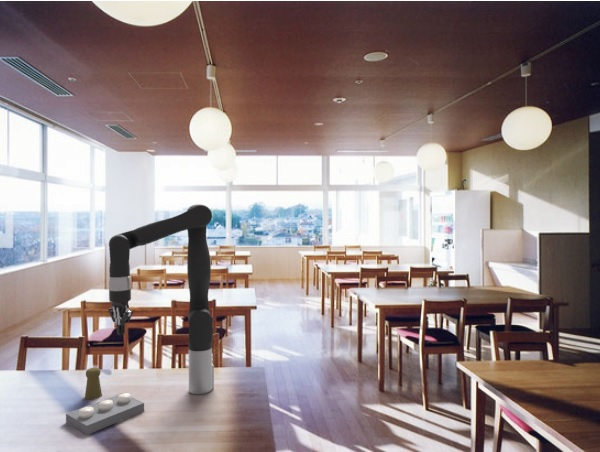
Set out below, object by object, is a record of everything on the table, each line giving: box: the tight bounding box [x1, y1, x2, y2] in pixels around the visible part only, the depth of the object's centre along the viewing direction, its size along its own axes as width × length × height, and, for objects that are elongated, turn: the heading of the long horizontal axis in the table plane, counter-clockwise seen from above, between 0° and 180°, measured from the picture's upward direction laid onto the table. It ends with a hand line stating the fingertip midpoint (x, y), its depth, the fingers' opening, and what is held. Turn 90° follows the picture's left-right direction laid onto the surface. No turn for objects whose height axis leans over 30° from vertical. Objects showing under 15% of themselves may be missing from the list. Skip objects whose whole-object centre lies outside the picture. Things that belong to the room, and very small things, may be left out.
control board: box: [65, 392, 145, 436], centre depth 152 cm, size 21×14×3 cm, turn 144°
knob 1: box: [79, 406, 94, 419], centre depth 146 cm, size 4×4×5 cm
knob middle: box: [99, 399, 113, 411], centre depth 152 cm, size 4×4×5 cm
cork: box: [84, 367, 103, 401], centre depth 169 cm, size 6×6×11 cm
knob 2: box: [118, 393, 132, 404], centre depth 158 cm, size 4×4×5 cm
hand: (120, 334), depth 161 cm, fingers closed
